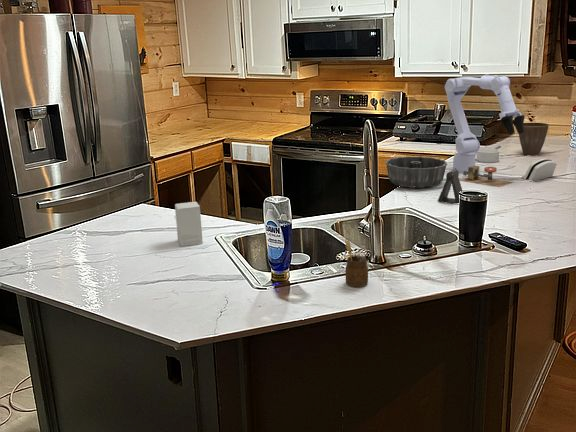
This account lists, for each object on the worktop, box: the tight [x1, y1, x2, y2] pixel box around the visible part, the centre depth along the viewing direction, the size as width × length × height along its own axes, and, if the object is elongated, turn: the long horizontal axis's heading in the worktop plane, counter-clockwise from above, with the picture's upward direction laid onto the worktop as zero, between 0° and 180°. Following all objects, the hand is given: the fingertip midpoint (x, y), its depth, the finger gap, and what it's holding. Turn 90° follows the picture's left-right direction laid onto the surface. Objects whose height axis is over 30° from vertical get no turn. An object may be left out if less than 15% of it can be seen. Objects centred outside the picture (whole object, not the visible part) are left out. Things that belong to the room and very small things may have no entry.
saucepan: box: [476, 145, 502, 164], centre depth 312 cm, size 12×20×6 cm, turn 138°
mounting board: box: [459, 176, 515, 188], centre depth 265 cm, size 20×12×1 cm, turn 42°
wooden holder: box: [465, 165, 481, 181], centre depth 268 cm, size 4×6×6 cm, turn 132°
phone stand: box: [437, 169, 463, 204], centre depth 237 cm, size 9×6×12 cm, turn 57°
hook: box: [462, 166, 498, 180], centre depth 266 cm, size 15×5×5 cm, turn 42°
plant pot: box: [518, 122, 550, 156], centre depth 319 cm, size 15×15×16 cm
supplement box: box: [174, 201, 204, 247], centre depth 199 cm, size 7×7×13 cm
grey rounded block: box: [520, 158, 557, 183], centre depth 269 cm, size 17×5×10 cm, turn 125°
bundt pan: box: [385, 155, 448, 189], centre depth 267 cm, size 26×26×10 cm
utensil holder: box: [344, 237, 369, 288], centre depth 161 cm, size 6×6×12 cm
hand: (516, 133), depth 255 cm, fingers open, 7 cm apart
